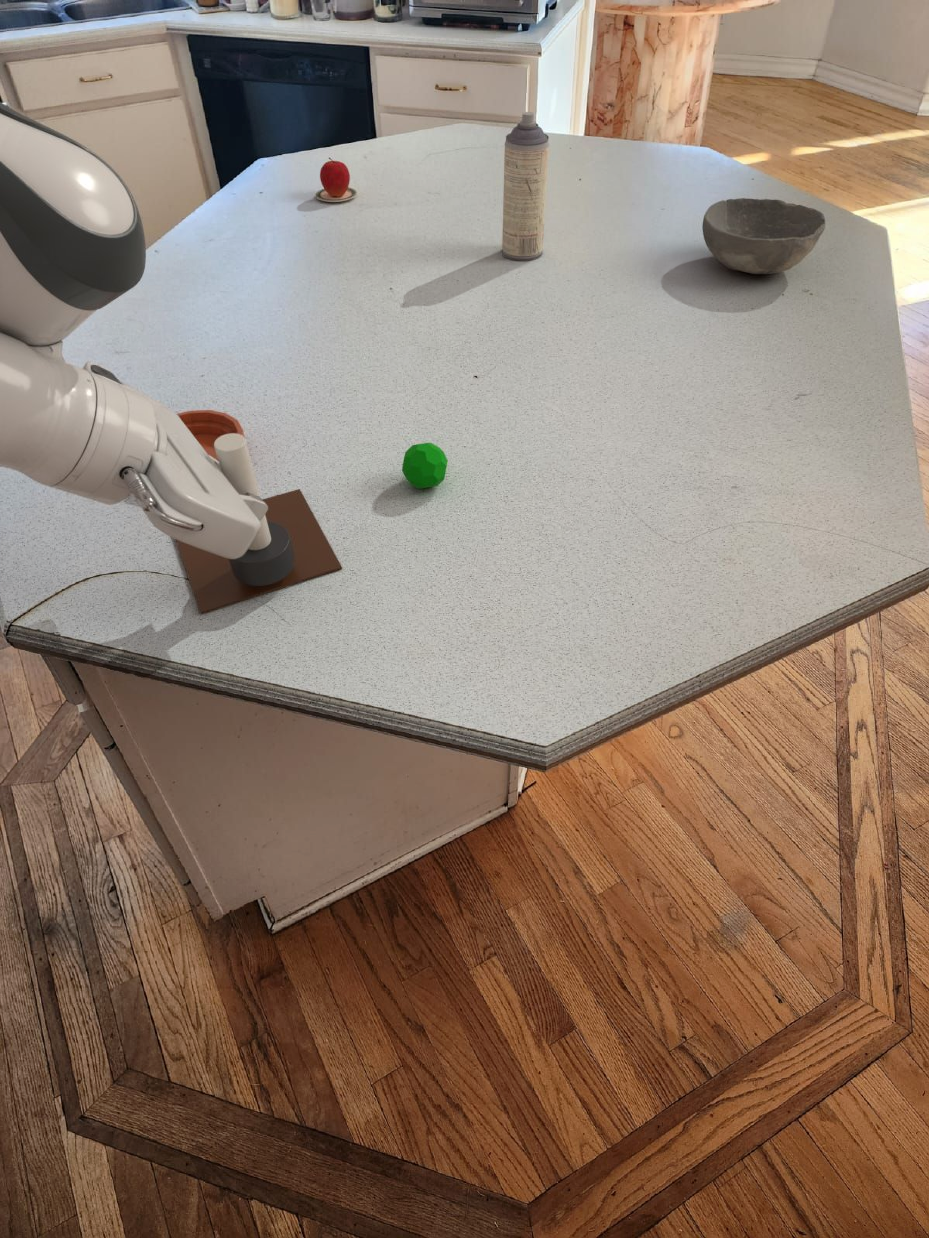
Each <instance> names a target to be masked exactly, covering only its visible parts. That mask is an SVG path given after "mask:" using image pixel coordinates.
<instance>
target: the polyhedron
mask: <svg viewBox="0 0 929 1238" xmlns="http://www.w3.org/2000/svg"><path fill="white" fill-rule="evenodd" d="M447 467H448V458H447V456H446V454H445V452H444V450H443V449H441V448H440V447H439V446H438V445H436V444H434V443H432V442H421V443H416V444H412V445H411V446H410V447H409V448H408V449H406V451H405V452H404V456H403V461H402V467H401V468H402V469H401V472H402V473H403V475H404V477H405V480H406V481H407V482H408V483H409V484H410V485H411V486H413V487H415V488H417V489H419V490H420V489H427V488H433V487H438V486H439V485H440V484H441V483H442V482H443V481H444V480H445V477H446V472H447Z"/></svg>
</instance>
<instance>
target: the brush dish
mask: <svg viewBox="0 0 929 1238" xmlns="http://www.w3.org/2000/svg"><path fill="white" fill-rule="evenodd" d="M176 414H177V415H178V416H179V417H180V419H181V420H182V421H183V423H184V424H185V425H186V427H187V428H188V429H189V431H190V432H191V433H192V434H193V436H194V437H195V438H196V440H197V441H198V442H199V443H200V445H201V446H202V447H203V449H204V450H205V451H206V452H207V454H208V455H210V456H211V457H213V458H214V459H216V460H217V461H218V457H217V454H216V451H215V447H214V442H215V440H216V439H217V438H219V437H220V436H222V435H225V434H231V433H235V434H240V435H242V436H244V438H245V439H246V437H245V432H244V429H243V428H242V425H241V424H240V422H239V419H237V418H235V417H233V416H231V415H230V414H228V413H226V412H223V411H222V412H221V411H216V410H212V409H198V410H197V409H196V410H186V411H182V412H178V413H176Z"/></svg>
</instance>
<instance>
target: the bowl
mask: <svg viewBox="0 0 929 1238" xmlns="http://www.w3.org/2000/svg"><path fill="white" fill-rule="evenodd" d="M701 228H702V236H703V240H704V242H705V245H706V248H707V249H708V250H709V252H710V253H711V254H712V255H713V257H714V258H715V259H716V260H717V261H718V262H719V263H721V264H722V265H723V266H725V267H726V268H727V269H730V270H732V271H739V272H743V273H748V274H753V275H770V274H772V275H773V274H778V273H782V272H786V271H789V270H790V269H792V268H794V267H795V266H797V265H798V264H800V263H801V262H802V261H803V260H804V259H805V258H806V257H807V256H808V255H809V254H810V253H811V252H812V251H813V250H814V249H815V247H816V246H817V244H818V241H819V239H820V238H821V236H822V234H823V233H824V231H825V229H826V218H825V214H824V213H823V212H821V211H820V210H818V209H816V208H813V207H807V206H805V205H802V204H795V203H791V202H790V203H789V202H786V201H784V200H781V199H769V198H764V199H763V198H762V199H761V198H760V199H759V198H746V197H741V198H728V199H726V200H724V199H722V200H720V201H717V202H715V203H713V204H711V205H710V206H709V207H708V208H707V210H706V211H705V213H704V215H703V219H702V227H701Z"/></svg>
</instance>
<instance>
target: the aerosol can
mask: <svg viewBox="0 0 929 1238" xmlns="http://www.w3.org/2000/svg"><path fill="white" fill-rule="evenodd" d="M521 115H522V116H521V120H520V121H519V123H517V124H516V126H514V127H513V128H512V130H511V132H510V133H507V134H506V135H505V141H504V158H503V159H504V161H503V162H504V163H503V197H502V199H503V200H502V202H503V203H502V239H501V241H502V242H501V255H502V256H503V257H504V258H505V259H508V260H511V261H517V262H528V261H529V262H530V261H535V260H537V259H539V258H541V257H542V255H543V250H544V236H545V235H544V234H545V220H546V219H545V218H546V203H547V186H548V171H549V170H548V169H549V154H550V142H549V139H550V136H549V135H548V134H547V133H544V130H543V128H542V127H540V126H539V124H538V123H537V121H535V113H534V112H532V111H524V112H522V114H521Z"/></svg>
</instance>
